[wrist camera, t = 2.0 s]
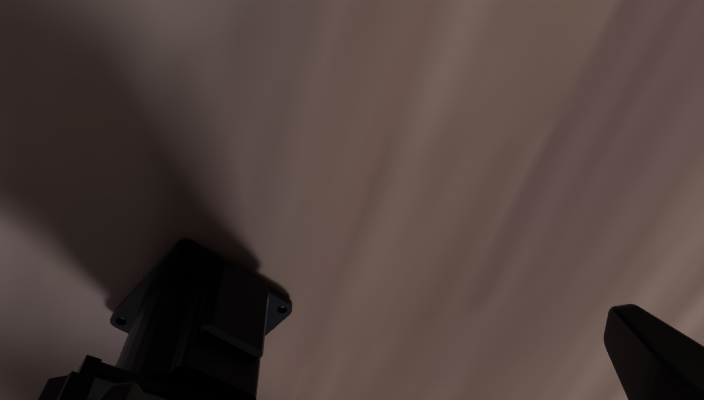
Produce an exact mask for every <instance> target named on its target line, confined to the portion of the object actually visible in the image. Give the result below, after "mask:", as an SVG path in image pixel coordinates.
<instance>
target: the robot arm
mask: <svg viewBox="0 0 704 400" xmlns="http://www.w3.org/2000/svg"><path fill="white" fill-rule="evenodd" d="M182 249H186V250H188V251H189V252H183V251H182ZM279 306H284V308H281V307H279ZM291 312H292V301H291V300H290V299H289V298H287V297H286V296H284V295H282V294H281V293H279V292H277V291H275V290H274V289H272V288H270V287H269V286H267V285H266V284H264V283H262V282H261V281H259V280H257V279H256V278H254V277H252V276H251V275H249V274H247V273H246V272H244V271H242V270H241V269H239V268H237V267H235V266H234V265H232V264H230V263H229V262H227V261H225V260H223V259H222V258H220V257H218V256H217V255H215V254H213V253H212V252H210V251H208V250H207V249H205V248H203V247H202V246H200V245H198V244H197V243H195V242H193V241H191V240H187V239H183V240H180V241H178V242H177V243H176V244H175V245H174V246H173V247H172V248H171V249H170V250H169V252H168V253H167V254H166V255H165V256H164V257H163V258H162V259H161V260H160V261H159V262H158V264H157V265H156V266H155V267H154V268H153V269H152V270H151V271H150V272H149V273H148V274H147V276H146V277H145V278H144V279H143V280H142V281H141V282H140V283H139V284H138V285H137V287H136V288H135V289H134V290H133V291H132V292H131V293H130V294H129V295H128V296H127V297H126V299H125V300H124V301H123V302H122V303H121V304H120V305H119V306H118V307H117V308H116V309H115V311H114V312H113V314H112V316H111V319H110V323H111V324H112V325H113V326H114V327H116V328H118V329H120V330H122V331H124V332H126V333H128V337H127V339H126V342H125V344H124V347H123V349H122V352H121V354H120V357H119V359H118V362H117V364H116V367H115V366H112V365H108V364H105V363H102V362H101V360H102V359H99V358H96V357H93V356H90V355H86V357H85V359H84V360H83V362H82V364H81V366H80V367H79V369H78V371H77V372H74V371H72V372H71V373H69V375H67V376H62V377H56V378H51V379H49V380H48V382H47V384H46V386H45V387H44V389H43V391H42V393H41V395H40V397H39V399H38V400H256V396H257V386H258V377H259V367H260V358H261V357H262V355H263V350H264V340H265V336H266V335H267V334H268V333H269V332H270V331H271V330H272V329H274V328H275V327H276V326H277V325H278V324H279V323H281V322H282V321H283V320H284V319H285V318H286V317H287V316H289V315H290V313H291ZM121 318H123V319H121ZM604 344H605V347H606V350H607V352H608V354H609V357H610V359H611V361H612V364H613V366H614V368H615V370H616V373H617V375H618V377H619V379H620V382H621V384H622V386H623V389H624V391H625V393H626V395H627V398H628V400H704V346H702V345H701V344H699V343H697V342H696V341H694V340H692V339H691V338H689V337H688V336H686V335H684V334H683V333H681V332H679V331H678V330H676V329H675V328H673V327H671V326H670V325H668V324H666V323H665V322H663V321H662V320H660V319H658V318H657V317H655V316H653V315H652V314H650V313H649V312H647V311H645V310H644V309H642V308H640V307H639V306H637V305H634V304H626V305H619V306H614V307H612V308H611V309H610V310H609V312H608V317H607V322H606V327H605V332H604Z"/></svg>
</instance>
